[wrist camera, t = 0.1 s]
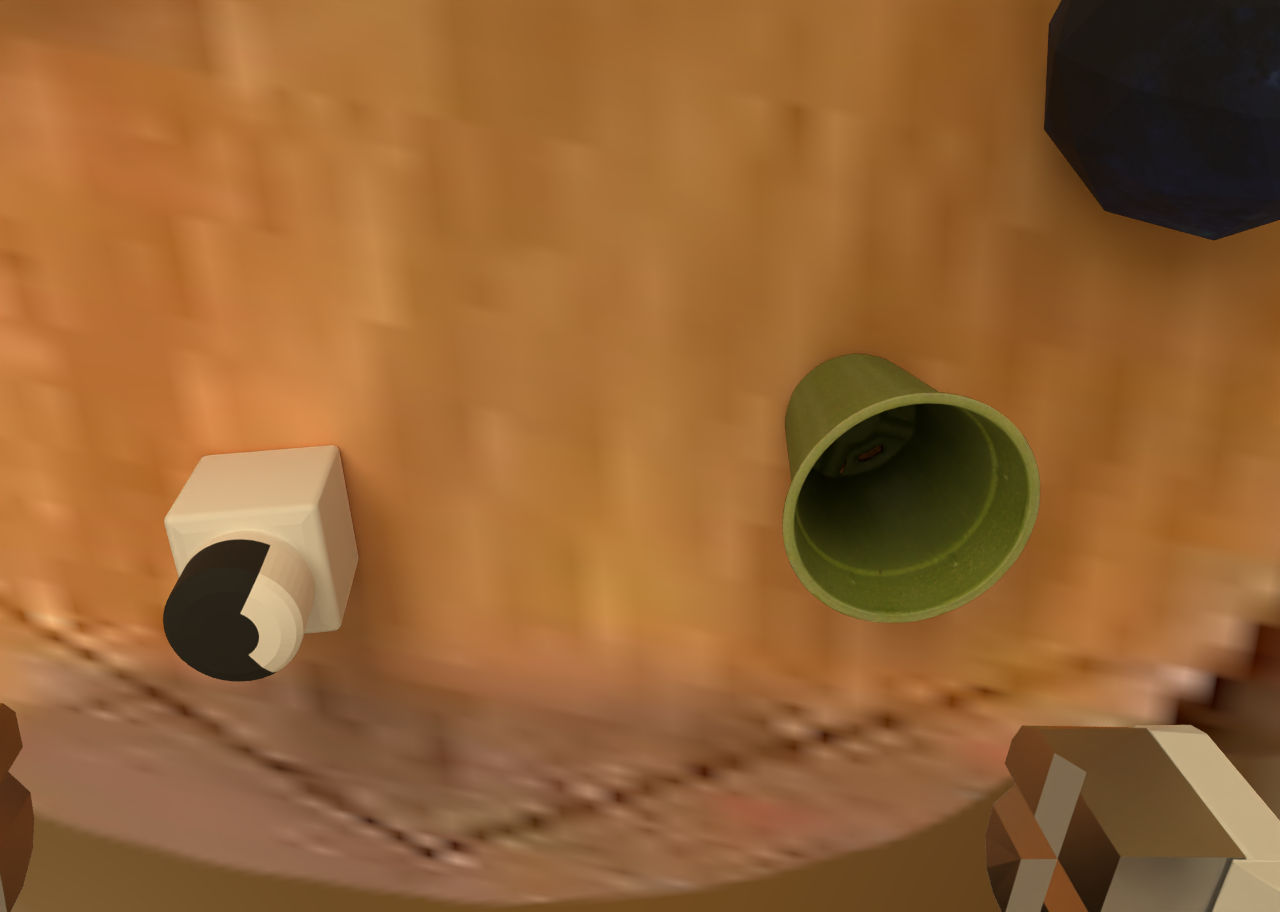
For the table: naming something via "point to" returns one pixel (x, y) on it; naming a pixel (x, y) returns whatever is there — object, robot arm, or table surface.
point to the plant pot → (901, 492)
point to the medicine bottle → (258, 559)
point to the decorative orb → (1170, 108)
